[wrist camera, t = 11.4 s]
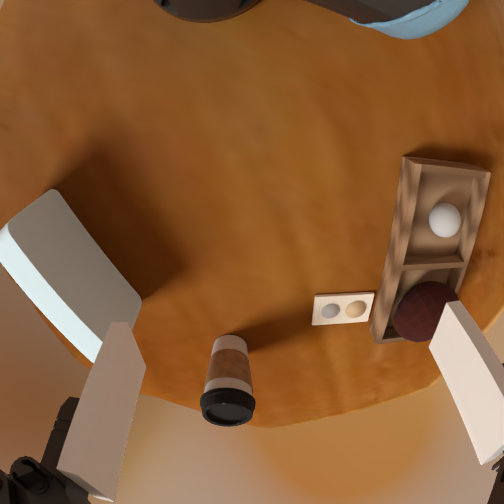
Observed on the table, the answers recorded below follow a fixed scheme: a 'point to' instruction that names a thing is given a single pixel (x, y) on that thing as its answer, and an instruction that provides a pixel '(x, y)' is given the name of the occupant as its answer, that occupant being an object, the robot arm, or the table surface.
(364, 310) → the tile
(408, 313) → the dark brown ovoid
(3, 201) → the table surface
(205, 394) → the coffee cup
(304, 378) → the table surface
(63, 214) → the white rounded block
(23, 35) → the table surface
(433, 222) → the ball
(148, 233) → the table surface
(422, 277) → the divided wooden tray
